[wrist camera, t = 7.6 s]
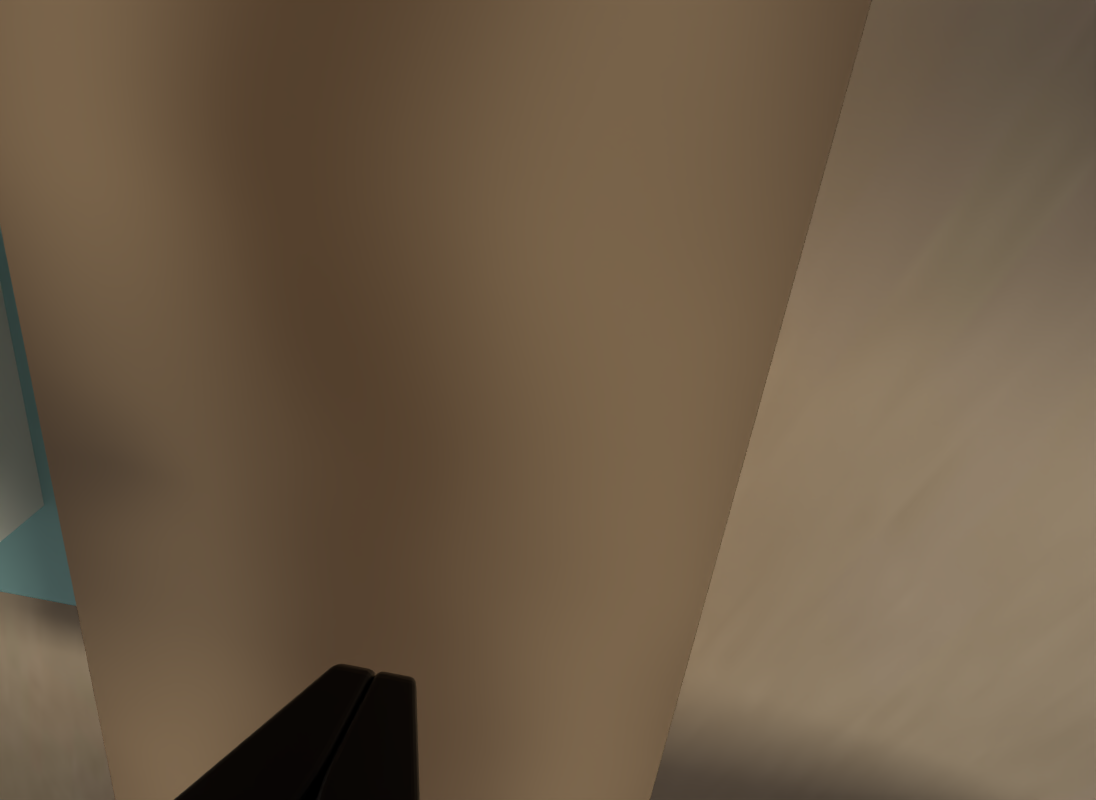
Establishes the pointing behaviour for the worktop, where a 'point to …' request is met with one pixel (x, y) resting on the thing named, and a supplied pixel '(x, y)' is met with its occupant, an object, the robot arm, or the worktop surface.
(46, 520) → the mat
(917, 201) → the worktop surface
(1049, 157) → the worktop surface
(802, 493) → the worktop surface
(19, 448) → the white block
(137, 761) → the brown box
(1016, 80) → the worktop surface
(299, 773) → the robot arm
